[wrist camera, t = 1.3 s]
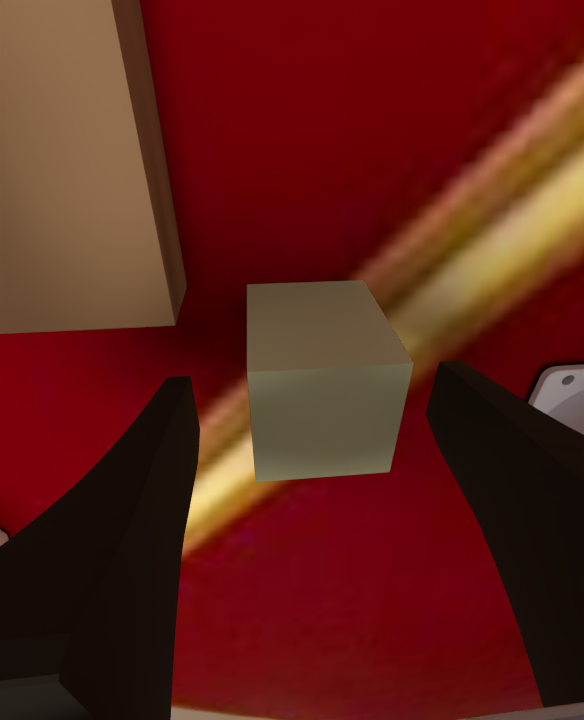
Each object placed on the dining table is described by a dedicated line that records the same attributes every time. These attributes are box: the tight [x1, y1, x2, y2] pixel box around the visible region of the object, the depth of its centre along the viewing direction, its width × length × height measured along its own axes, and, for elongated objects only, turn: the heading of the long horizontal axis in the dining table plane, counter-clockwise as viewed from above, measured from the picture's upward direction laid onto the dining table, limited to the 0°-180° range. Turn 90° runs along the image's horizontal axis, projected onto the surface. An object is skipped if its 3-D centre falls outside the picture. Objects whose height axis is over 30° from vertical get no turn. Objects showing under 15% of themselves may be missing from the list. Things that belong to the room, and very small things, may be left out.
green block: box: [247, 280, 414, 482], centre depth 12 cm, size 4×4×5 cm
